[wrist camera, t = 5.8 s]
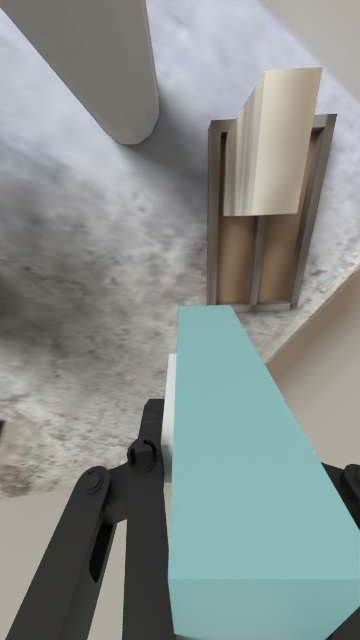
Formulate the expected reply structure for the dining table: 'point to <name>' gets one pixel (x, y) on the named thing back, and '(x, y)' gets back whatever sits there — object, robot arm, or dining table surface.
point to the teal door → (249, 500)
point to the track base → (265, 192)
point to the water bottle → (97, 58)
